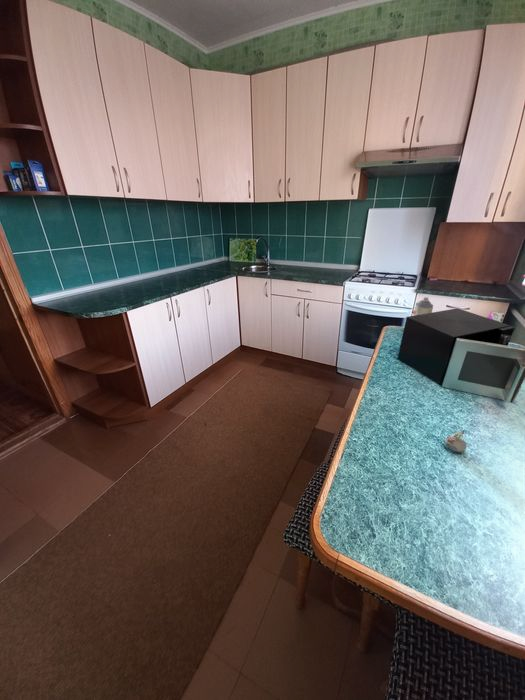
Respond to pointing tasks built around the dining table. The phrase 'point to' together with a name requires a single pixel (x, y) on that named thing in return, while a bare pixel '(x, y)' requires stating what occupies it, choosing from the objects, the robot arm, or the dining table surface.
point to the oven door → (486, 369)
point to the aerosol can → (423, 307)
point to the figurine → (456, 443)
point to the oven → (445, 338)
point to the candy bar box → (496, 316)
